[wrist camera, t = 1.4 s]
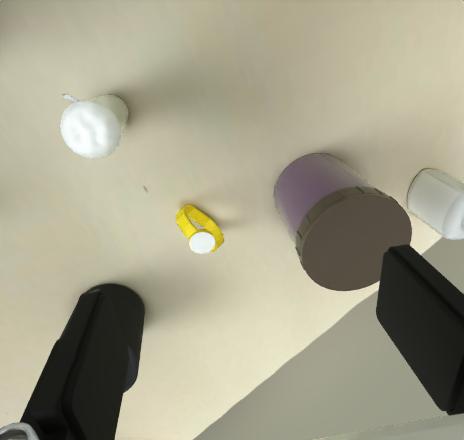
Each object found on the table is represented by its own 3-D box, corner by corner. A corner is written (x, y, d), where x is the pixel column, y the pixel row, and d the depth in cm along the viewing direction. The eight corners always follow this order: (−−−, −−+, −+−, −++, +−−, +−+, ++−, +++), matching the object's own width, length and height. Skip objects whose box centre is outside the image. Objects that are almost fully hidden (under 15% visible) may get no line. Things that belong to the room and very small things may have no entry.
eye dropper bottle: (393, 198, 42) (461, 251, 31) (427, 161, 40) (511, 205, 30) (415, 214, 43) (487, 270, 33) (449, 180, 42) (537, 227, 31)
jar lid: (367, 162, 28) (378, 170, 26) (417, 236, 32) (430, 248, 31) (273, 234, 30) (278, 246, 29) (332, 294, 35) (339, 308, 33)
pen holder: (150, 283, 44) (140, 343, 35) (145, 335, 48) (135, 400, 40) (74, 277, 42) (43, 339, 34) (76, 331, 47) (49, 399, 38)
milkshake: (121, 72, 32) (94, 84, 23) (142, 127, 35) (125, 156, 26) (76, 86, 32) (32, 103, 24) (100, 139, 35) (69, 173, 26)
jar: (324, 135, 37) (374, 171, 27) (366, 193, 41) (423, 244, 31) (257, 190, 39) (280, 242, 29) (303, 240, 44) (337, 301, 33)
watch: (172, 209, 40) (169, 235, 34) (187, 193, 39) (187, 217, 34) (210, 237, 42) (213, 266, 37) (226, 222, 41) (231, 249, 36)
